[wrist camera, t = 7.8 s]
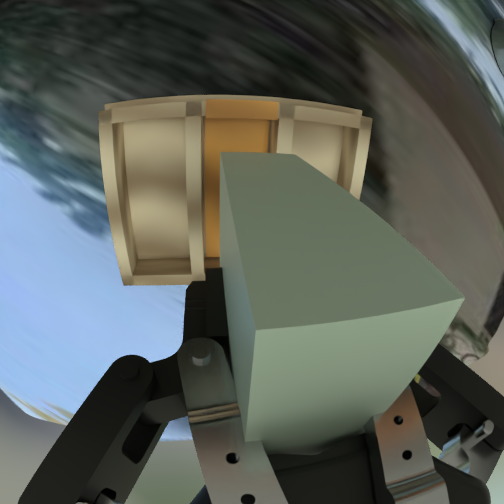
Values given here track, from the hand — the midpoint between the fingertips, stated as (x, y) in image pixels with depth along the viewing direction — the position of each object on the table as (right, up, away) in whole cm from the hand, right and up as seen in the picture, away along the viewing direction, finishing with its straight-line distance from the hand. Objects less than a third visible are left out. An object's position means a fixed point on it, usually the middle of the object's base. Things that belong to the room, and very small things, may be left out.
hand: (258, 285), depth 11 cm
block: (0, +1, +2) cm, 2 cm away
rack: (-2, +7, +11) cm, 13 cm away
